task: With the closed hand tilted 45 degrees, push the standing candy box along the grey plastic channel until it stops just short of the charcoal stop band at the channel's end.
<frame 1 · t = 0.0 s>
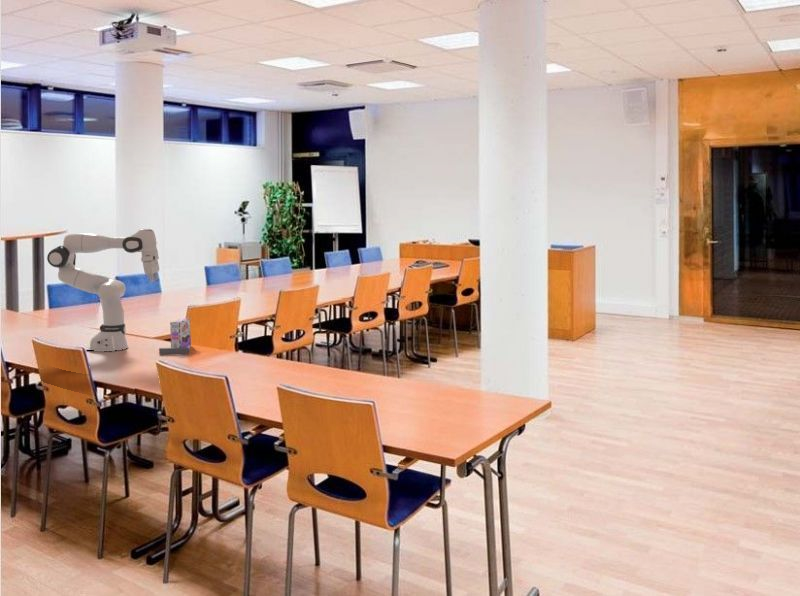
hand: (153, 281, 421), 39 cm above the table, tool pointing down, fingers open, 8 cm apart
slide guide: (177, 351, 417), on the table
candy box: (181, 348, 426), on the table
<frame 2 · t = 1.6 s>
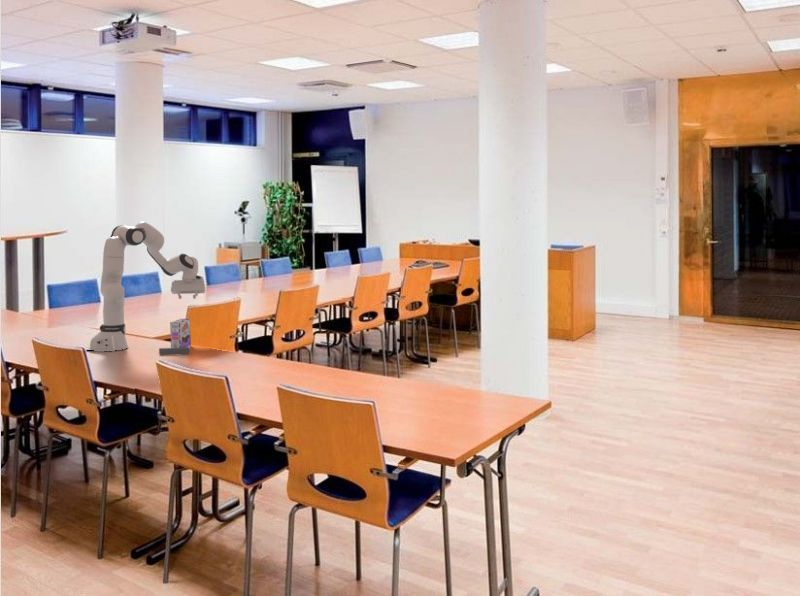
hand: (187, 298, 446), 26 cm above the table, tool tilted 45°, fingers open, 7 cm apart
nothing on the table moved.
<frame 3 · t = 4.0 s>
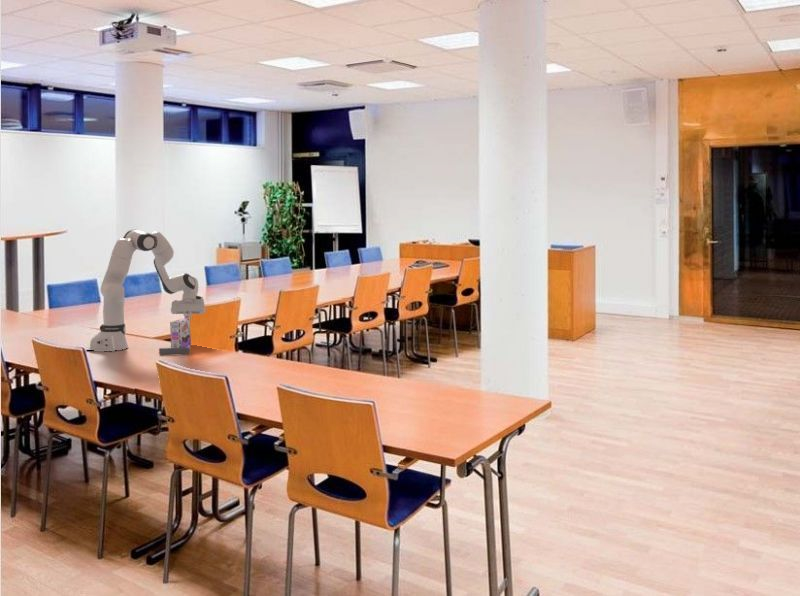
hand: (186, 318, 446), 14 cm above the table, tool tilted 45°, fingers closed
nothing on the table moved.
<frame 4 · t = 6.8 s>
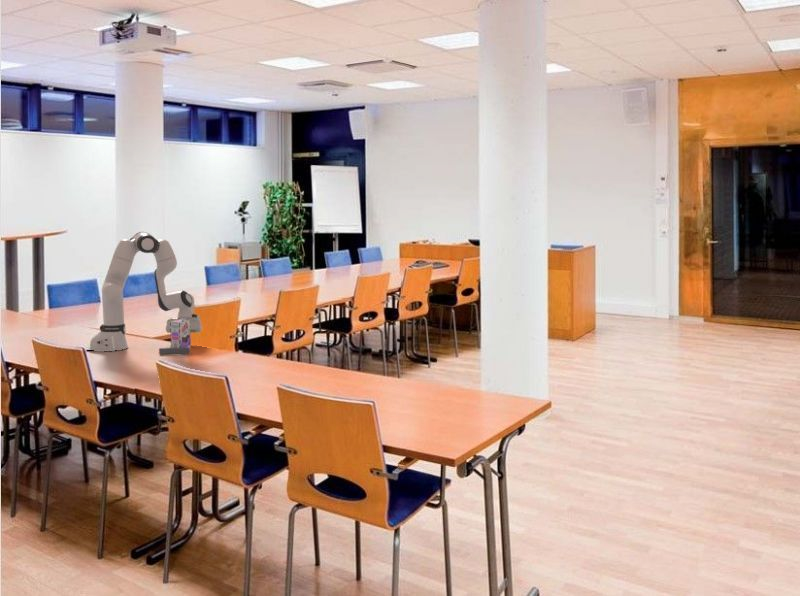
hand: (182, 337, 432), 5 cm above the table, tool tilted 45°, fingers closed
candy box: (181, 348, 425), on the table, touching gripper
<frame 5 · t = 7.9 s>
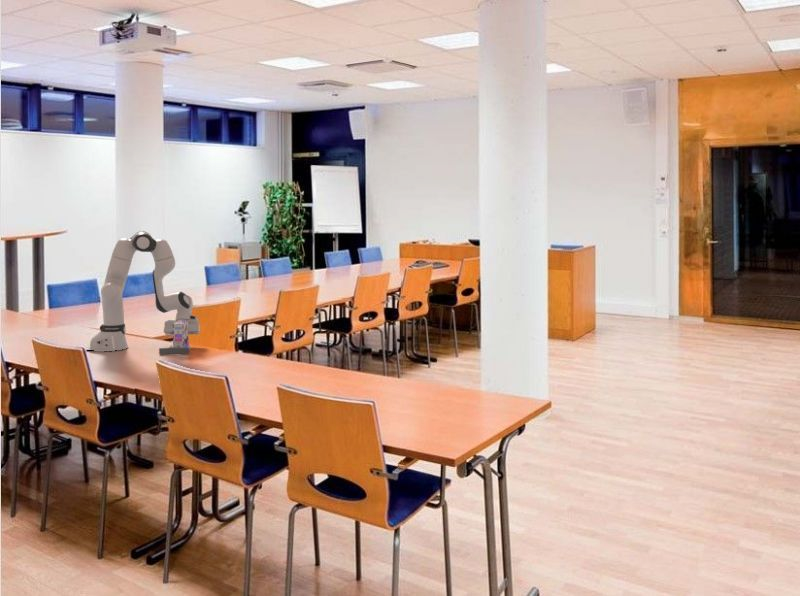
hand: (180, 339, 426), 5 cm above the table, tool tilted 45°, fingers closed, pressing on candy box
candy box: (181, 350, 420), on the table, touching gripper
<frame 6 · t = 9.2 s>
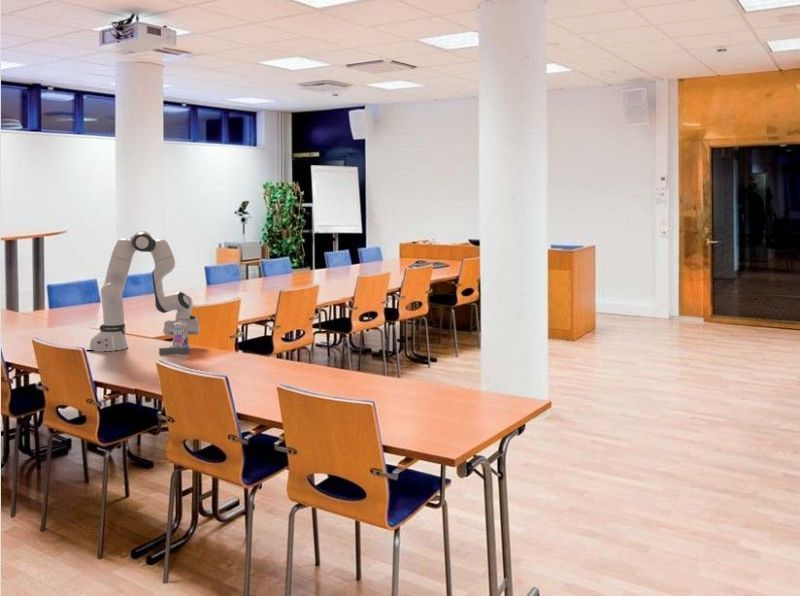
hand: (180, 339, 425), 5 cm above the table, tool tilted 45°, fingers closed
candy box: (180, 351, 418), on the table
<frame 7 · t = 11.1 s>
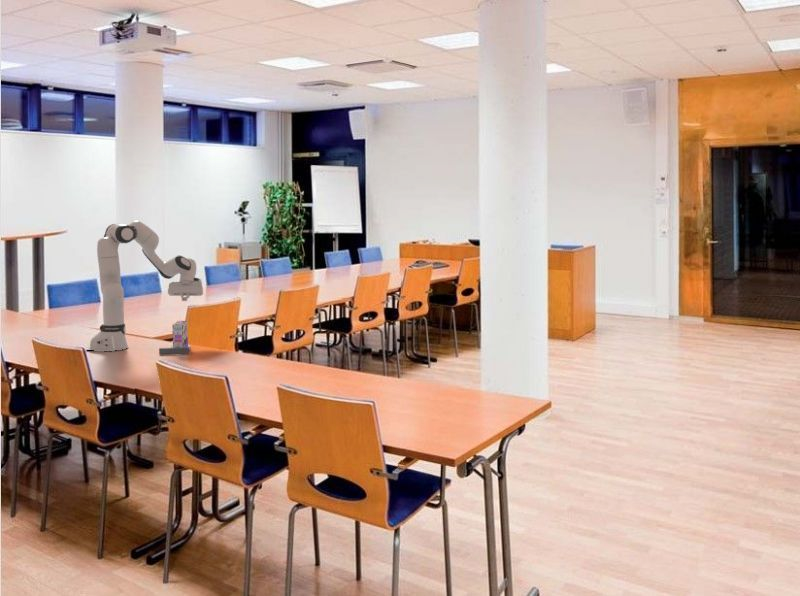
hand: (184, 300, 437), 26 cm above the table, tool tilted 45°, fingers closed
nothing on the table moved.
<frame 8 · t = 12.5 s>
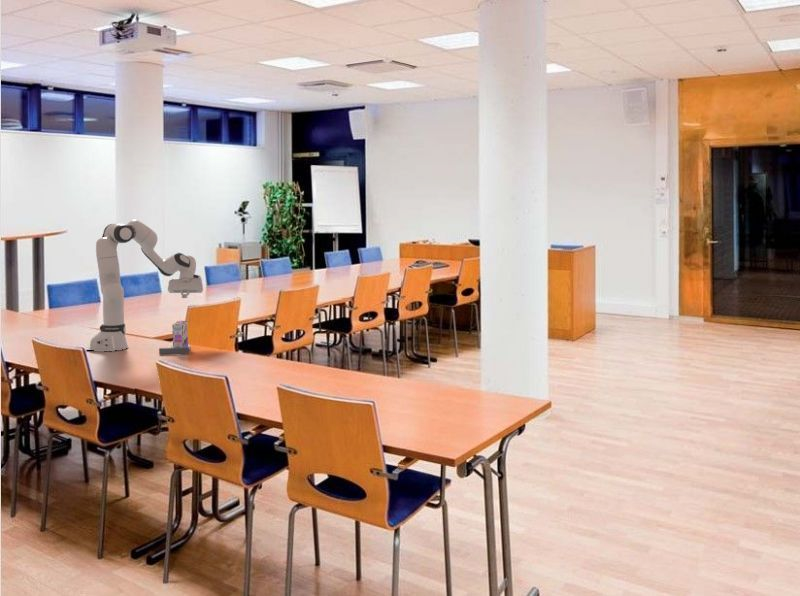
hand: (184, 297, 438), 27 cm above the table, tool tilted 45°, fingers closed
nothing on the table moved.
at the end: candy box 1.7 cm from the target spot, on the table; candy box tilted 0°; candy box moved 8.0 cm from its start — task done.
